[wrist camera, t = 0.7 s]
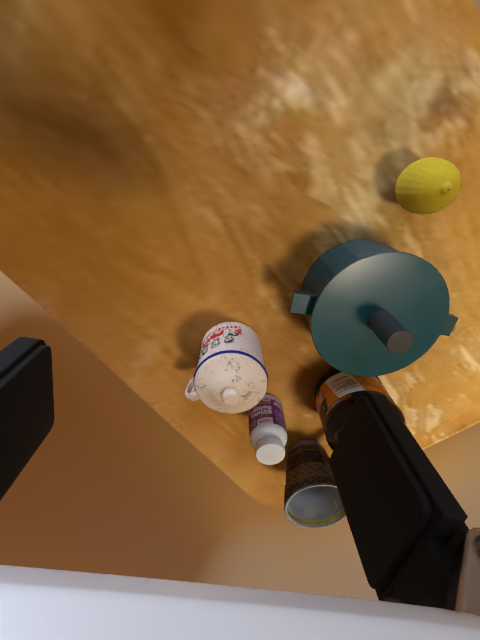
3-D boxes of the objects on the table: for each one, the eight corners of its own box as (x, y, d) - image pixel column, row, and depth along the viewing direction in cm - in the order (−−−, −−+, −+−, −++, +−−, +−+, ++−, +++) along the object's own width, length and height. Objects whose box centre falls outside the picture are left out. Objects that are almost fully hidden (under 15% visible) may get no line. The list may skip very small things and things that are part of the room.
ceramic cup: (300, 480, 60) (312, 537, 51) (264, 452, 56) (270, 507, 47) (358, 444, 56) (383, 498, 47) (324, 412, 53) (343, 463, 44)
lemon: (374, 198, 38) (407, 206, 31) (401, 149, 36) (443, 146, 29) (413, 216, 39) (453, 228, 32) (441, 170, 37) (491, 171, 30)
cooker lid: (330, 238, 33) (350, 253, 27) (467, 262, 34) (512, 281, 29) (294, 362, 39) (305, 395, 34) (411, 378, 41) (439, 412, 35)
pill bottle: (265, 387, 50) (272, 433, 41) (288, 406, 52) (299, 454, 43) (240, 406, 52) (242, 455, 43) (263, 424, 53) (268, 474, 45)
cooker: (295, 227, 40) (309, 241, 32) (443, 252, 41) (488, 271, 34) (271, 328, 46) (278, 359, 38) (401, 347, 47) (431, 379, 40)
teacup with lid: (239, 307, 44) (240, 351, 34) (274, 353, 47) (285, 407, 37) (171, 350, 47) (153, 404, 36) (209, 391, 50) (202, 451, 40)
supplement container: (328, 355, 48) (356, 410, 37) (391, 371, 49) (436, 430, 39) (301, 408, 52) (319, 472, 41) (360, 422, 54) (392, 487, 43)
